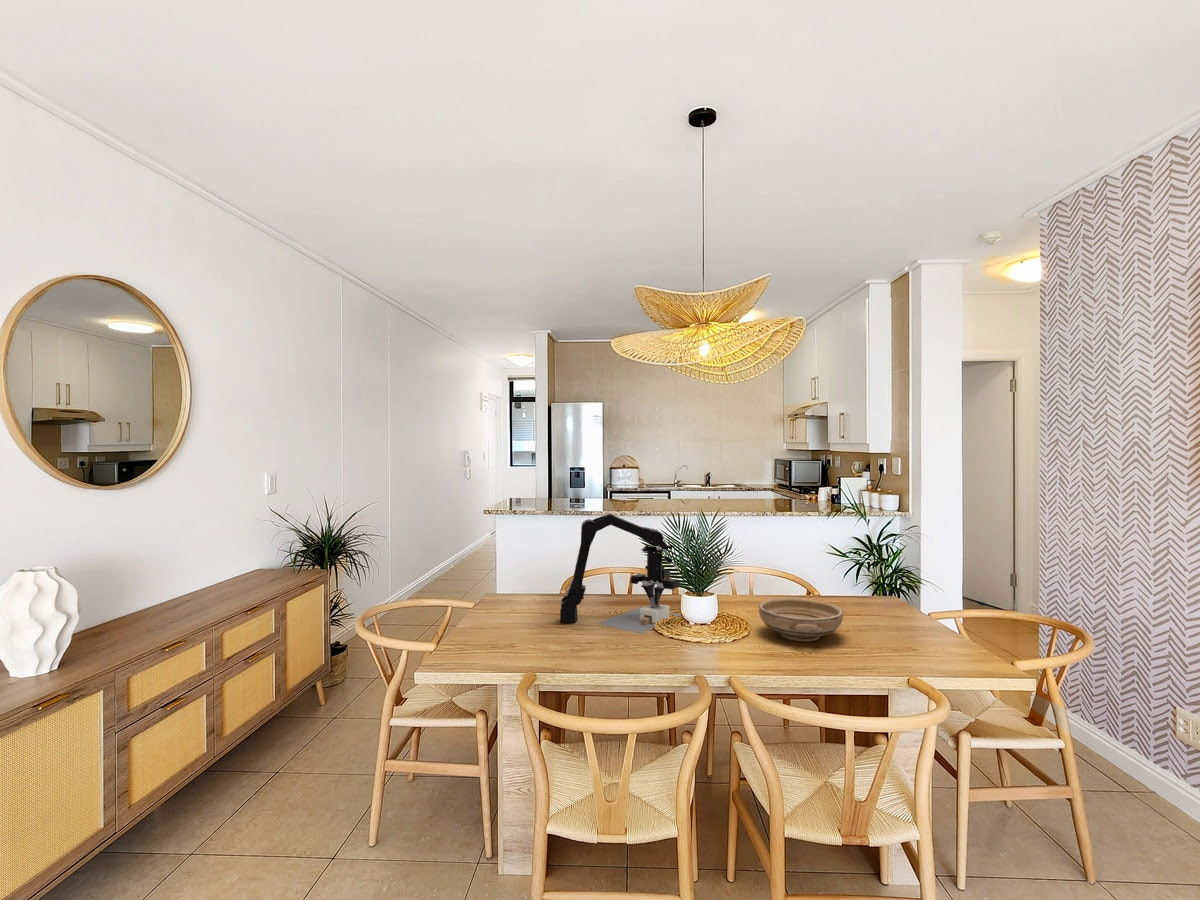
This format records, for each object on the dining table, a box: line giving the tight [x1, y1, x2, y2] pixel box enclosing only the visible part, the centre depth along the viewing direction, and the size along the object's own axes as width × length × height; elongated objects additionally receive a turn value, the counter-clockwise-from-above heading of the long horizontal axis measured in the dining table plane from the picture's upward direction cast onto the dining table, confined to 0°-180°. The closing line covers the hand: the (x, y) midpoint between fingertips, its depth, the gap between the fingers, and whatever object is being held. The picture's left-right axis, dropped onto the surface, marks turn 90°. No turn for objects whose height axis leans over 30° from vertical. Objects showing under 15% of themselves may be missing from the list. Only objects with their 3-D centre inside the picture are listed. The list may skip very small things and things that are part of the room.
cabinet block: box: [640, 595, 670, 624], centre depth 233 cm, size 10×7×8 cm
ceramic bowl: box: [758, 597, 844, 642], centre depth 216 cm, size 37×29×10 cm
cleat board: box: [596, 606, 682, 634], centre depth 234 cm, size 30×20×3 cm, turn 144°
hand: (654, 604), depth 233 cm, fingers closed on cabinet block
